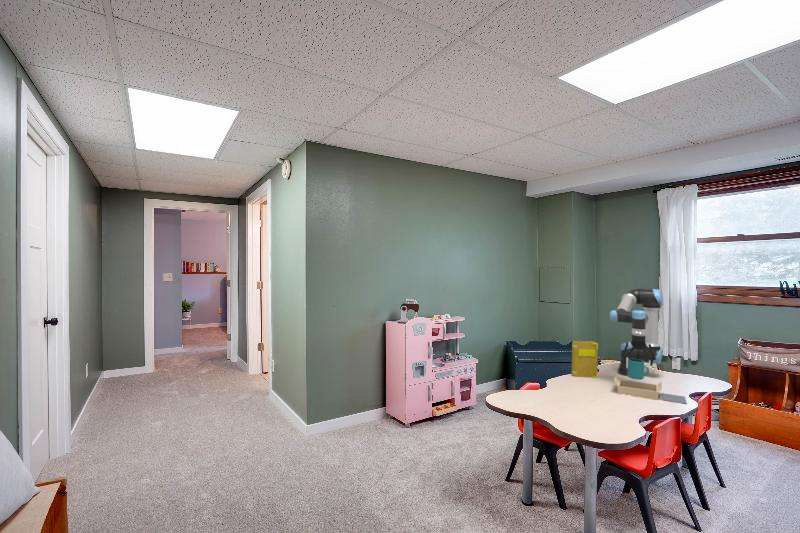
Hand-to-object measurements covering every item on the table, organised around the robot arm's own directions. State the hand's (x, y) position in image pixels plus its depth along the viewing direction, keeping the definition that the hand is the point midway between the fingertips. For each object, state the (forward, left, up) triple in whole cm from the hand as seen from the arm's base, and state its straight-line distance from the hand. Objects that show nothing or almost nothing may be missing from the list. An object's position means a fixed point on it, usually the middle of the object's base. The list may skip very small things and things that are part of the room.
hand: (638, 369), depth 255 cm
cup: (0, 0, -6) cm, 6 cm away
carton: (0, 0, -15) cm, 15 cm away
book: (-24, -35, -16) cm, 45 cm away
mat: (0, +19, -15) cm, 24 cm away
